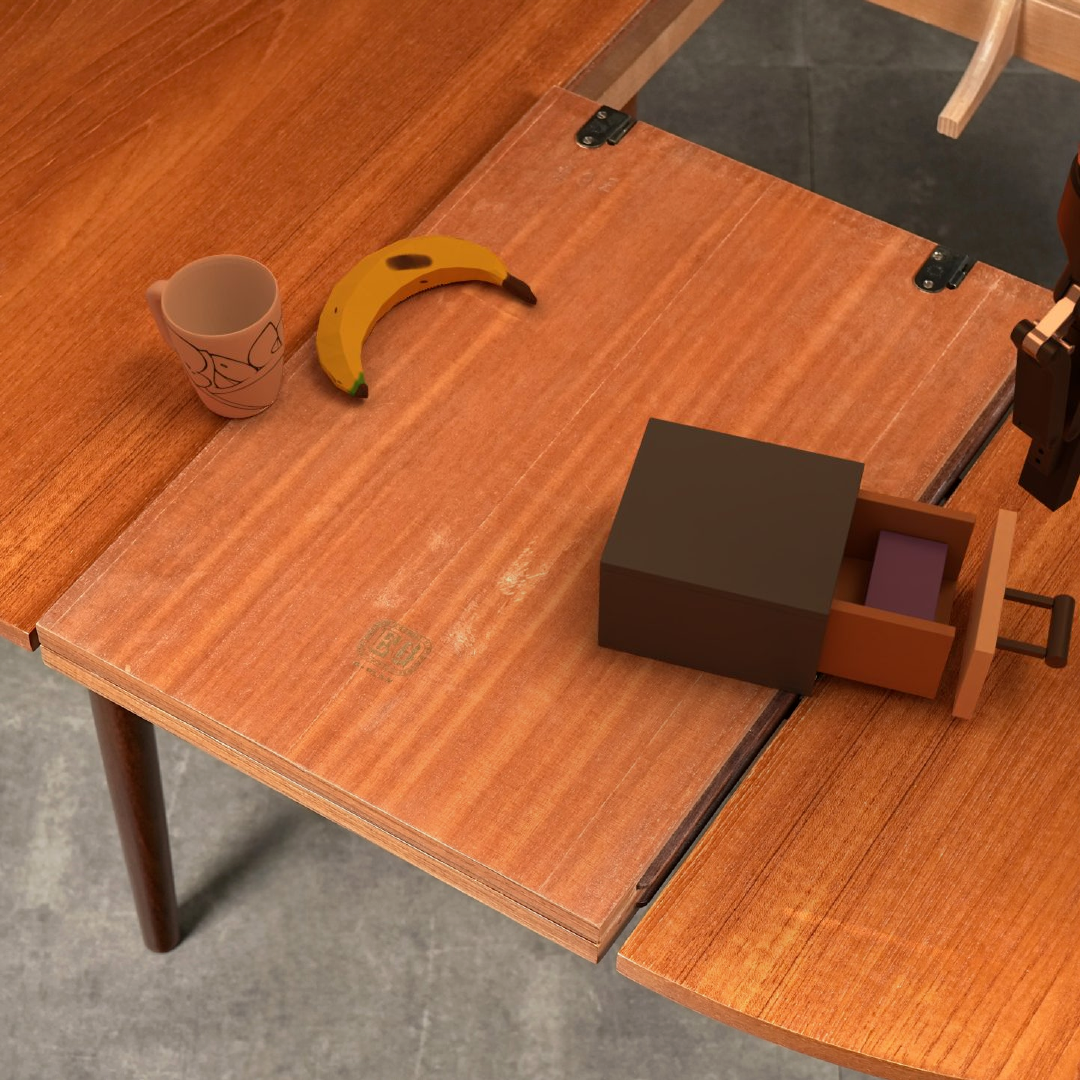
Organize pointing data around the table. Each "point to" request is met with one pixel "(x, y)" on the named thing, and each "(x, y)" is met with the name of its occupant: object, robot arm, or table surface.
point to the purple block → (906, 575)
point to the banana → (397, 295)
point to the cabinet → (727, 555)
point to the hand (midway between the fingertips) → (1044, 491)
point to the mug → (224, 331)
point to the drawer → (923, 646)
